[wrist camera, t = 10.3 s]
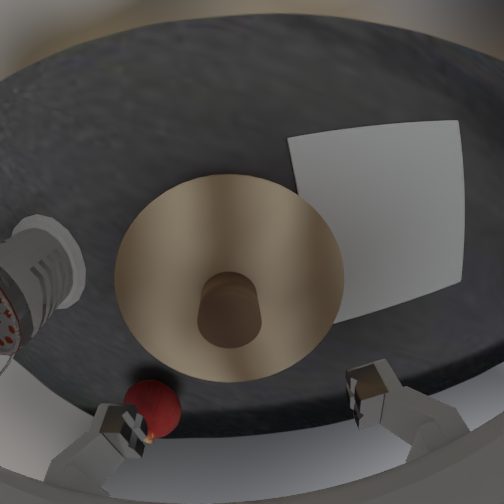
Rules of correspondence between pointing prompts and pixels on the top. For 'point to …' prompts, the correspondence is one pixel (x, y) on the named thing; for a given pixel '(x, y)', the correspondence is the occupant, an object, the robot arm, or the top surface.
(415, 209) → the mat
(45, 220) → the french press
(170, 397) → the pomegranate
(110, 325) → the top surface
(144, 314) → the lid
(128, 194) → the top surface
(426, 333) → the top surface
